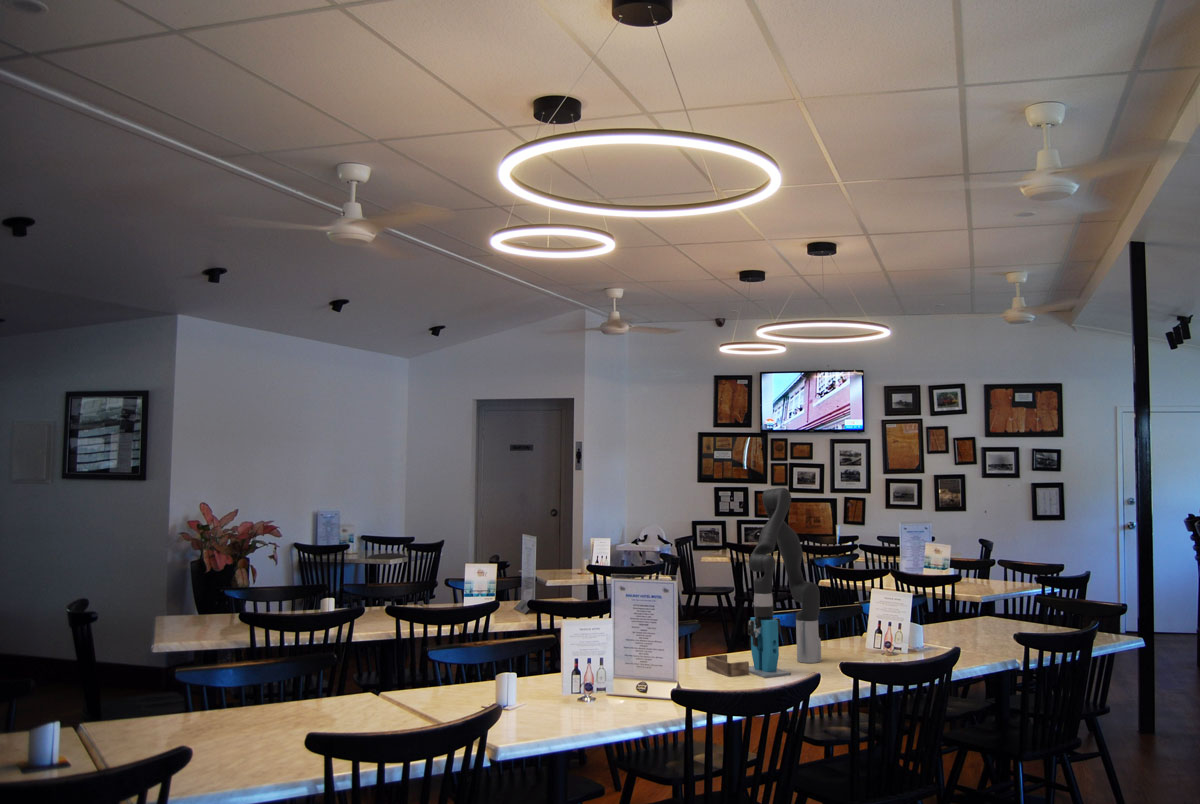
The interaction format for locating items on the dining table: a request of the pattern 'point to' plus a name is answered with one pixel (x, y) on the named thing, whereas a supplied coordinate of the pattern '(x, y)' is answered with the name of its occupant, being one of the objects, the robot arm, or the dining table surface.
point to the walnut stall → (726, 666)
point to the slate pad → (768, 673)
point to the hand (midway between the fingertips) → (765, 645)
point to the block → (766, 646)
